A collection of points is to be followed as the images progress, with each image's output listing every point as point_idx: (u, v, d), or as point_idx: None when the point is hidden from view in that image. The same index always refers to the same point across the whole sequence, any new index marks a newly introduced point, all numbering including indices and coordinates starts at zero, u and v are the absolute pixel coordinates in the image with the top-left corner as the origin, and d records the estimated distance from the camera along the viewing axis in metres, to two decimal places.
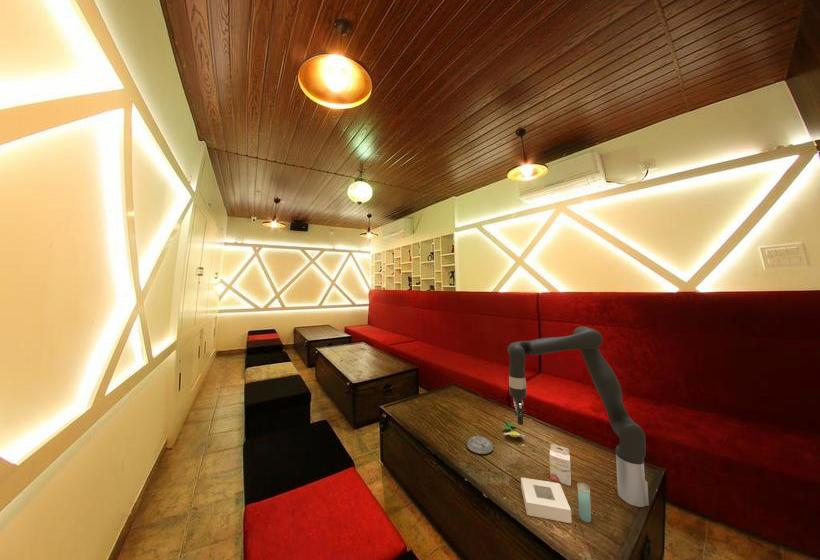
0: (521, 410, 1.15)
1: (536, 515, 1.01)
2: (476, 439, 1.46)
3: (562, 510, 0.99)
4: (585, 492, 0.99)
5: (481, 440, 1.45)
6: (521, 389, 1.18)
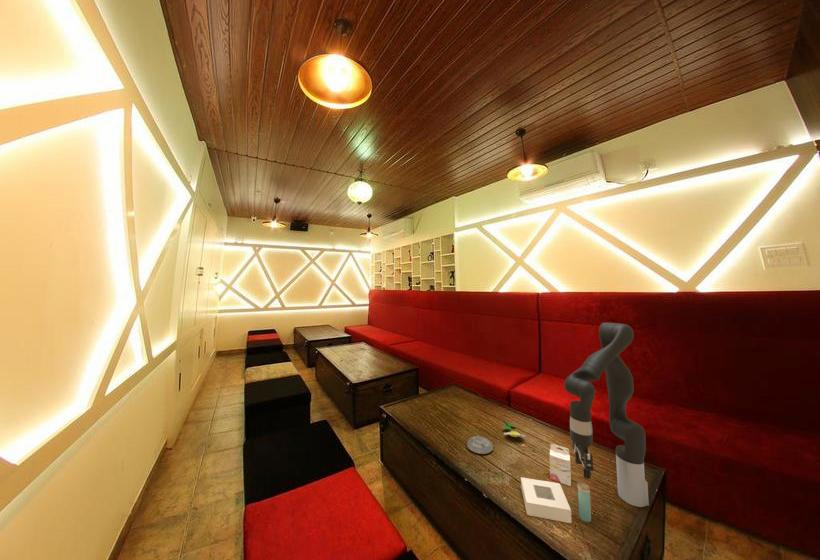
0: (590, 462, 0.95)
1: (536, 515, 1.01)
2: (476, 439, 1.46)
3: (562, 510, 0.99)
4: (585, 492, 0.99)
5: (481, 440, 1.45)
6: (587, 436, 0.98)
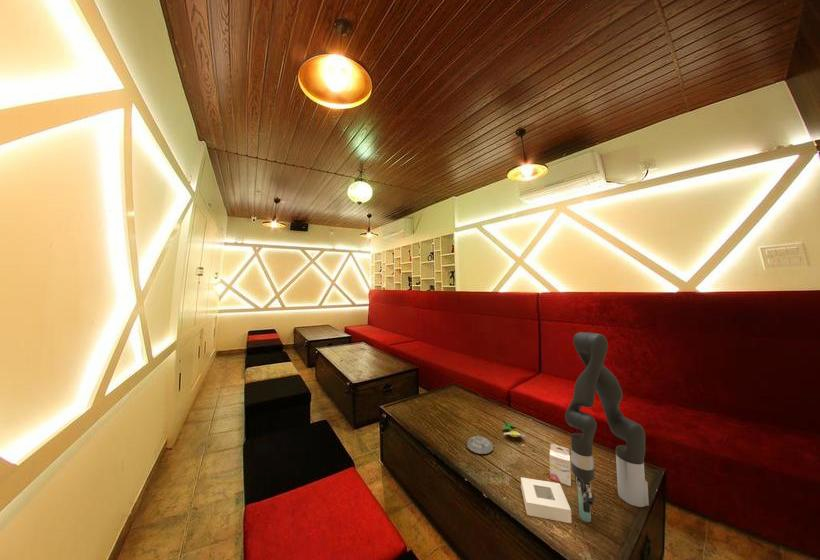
0: (591, 500, 0.95)
1: (536, 515, 1.01)
2: (476, 439, 1.46)
3: (562, 510, 0.99)
4: None
5: (481, 440, 1.45)
6: (589, 470, 0.98)
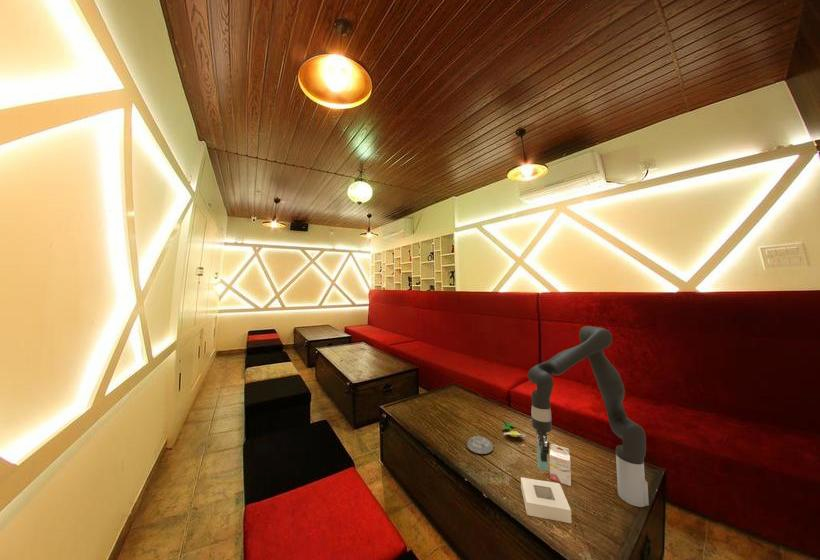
0: (546, 448, 1.02)
1: (536, 515, 1.01)
2: (476, 439, 1.46)
3: (562, 510, 0.99)
4: None
5: (481, 440, 1.45)
6: (546, 422, 1.05)
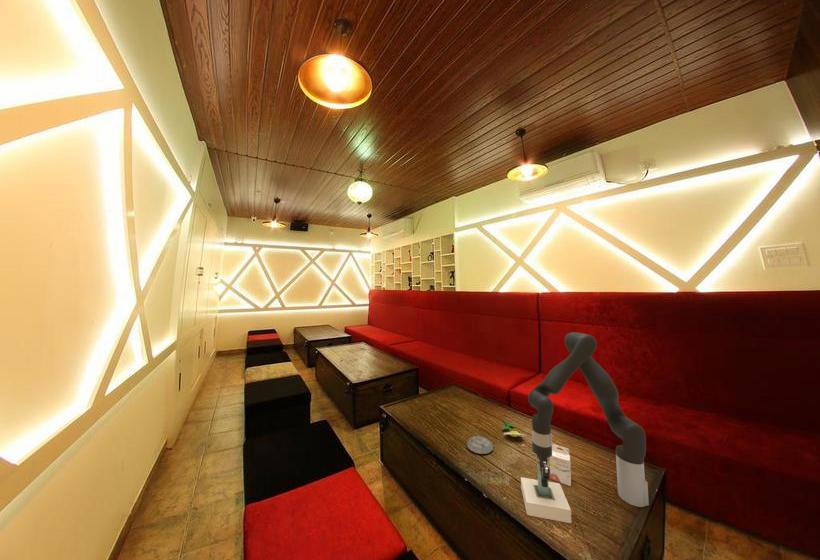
0: (547, 474, 1.02)
1: (536, 515, 1.01)
2: (476, 439, 1.46)
3: (562, 510, 0.99)
4: None
5: (481, 440, 1.45)
6: (546, 448, 1.04)
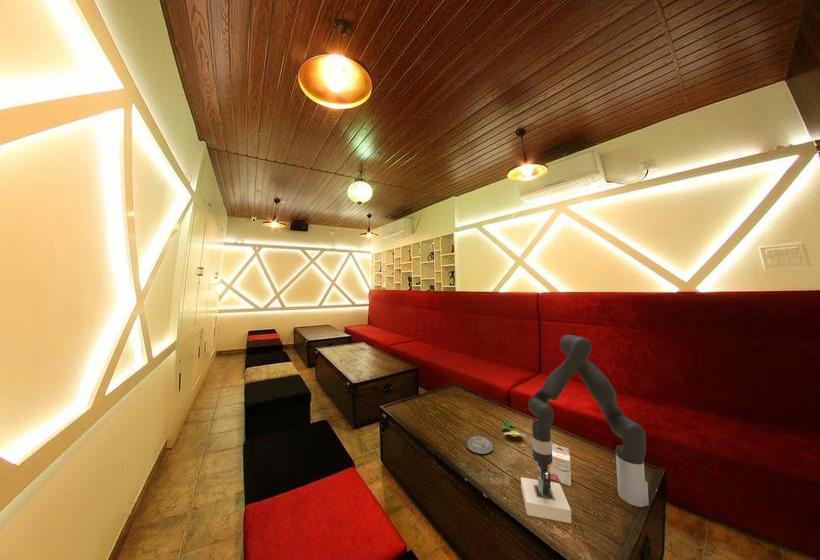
0: (548, 481, 1.01)
1: (536, 515, 1.01)
2: (476, 439, 1.46)
3: (562, 510, 0.99)
4: None
5: (481, 440, 1.45)
6: (547, 455, 1.04)
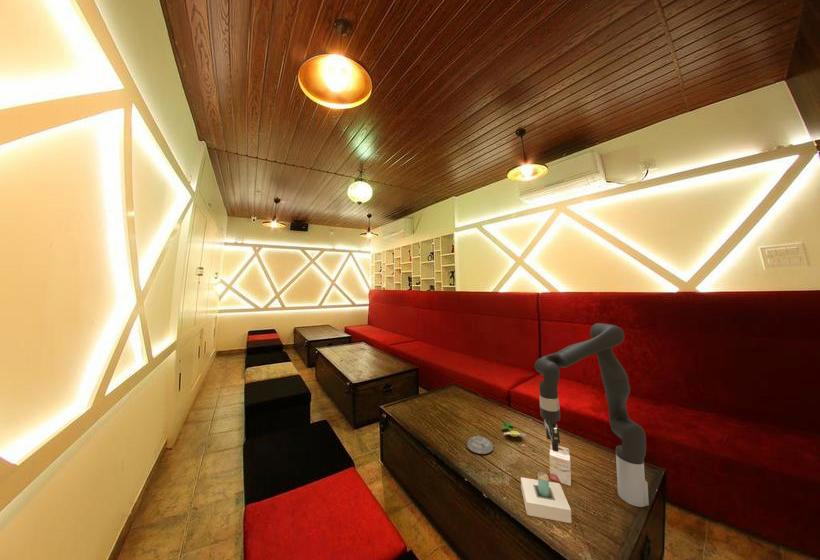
0: (557, 435, 1.03)
1: (536, 515, 1.01)
2: (476, 439, 1.46)
3: (562, 510, 0.99)
4: (543, 480, 1.06)
5: (481, 440, 1.45)
6: (554, 411, 1.06)
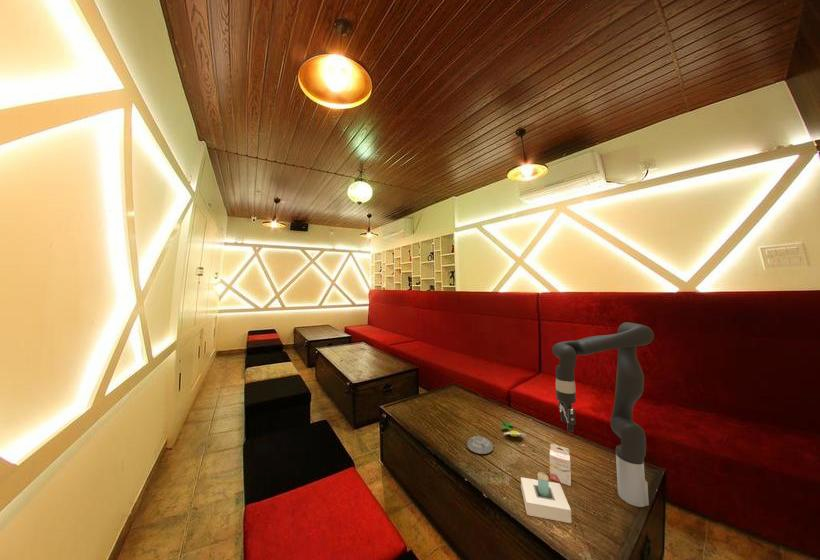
0: (573, 416, 1.05)
1: (536, 515, 1.01)
2: (476, 439, 1.46)
3: (562, 510, 0.99)
4: (543, 480, 1.06)
5: (481, 440, 1.45)
6: (571, 394, 1.09)
